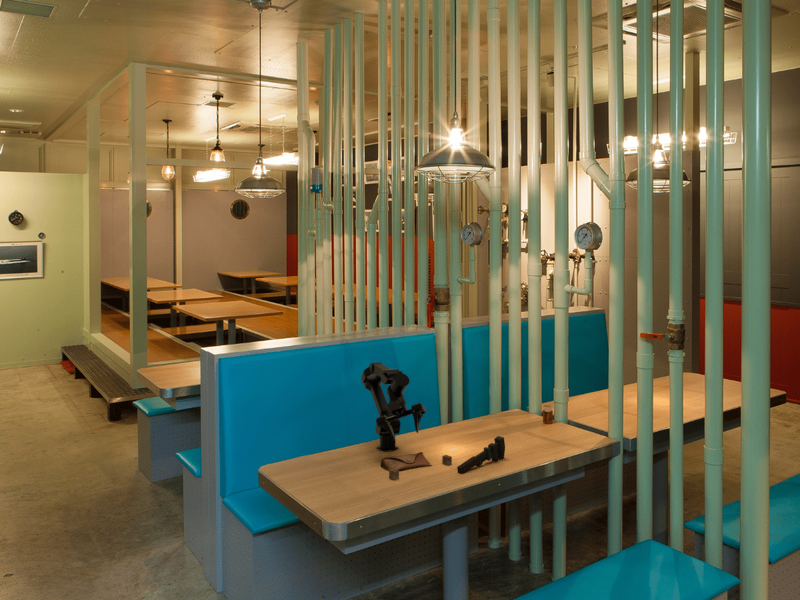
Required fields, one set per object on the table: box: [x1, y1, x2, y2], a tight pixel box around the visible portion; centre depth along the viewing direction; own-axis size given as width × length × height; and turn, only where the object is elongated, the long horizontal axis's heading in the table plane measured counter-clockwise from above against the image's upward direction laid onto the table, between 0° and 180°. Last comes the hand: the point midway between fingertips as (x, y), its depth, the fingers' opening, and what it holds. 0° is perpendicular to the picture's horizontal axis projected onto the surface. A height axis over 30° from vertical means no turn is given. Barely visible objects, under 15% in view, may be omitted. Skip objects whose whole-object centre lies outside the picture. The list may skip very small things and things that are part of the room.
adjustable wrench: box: [456, 435, 506, 475], centre depth 242 cm, size 8×3×25 cm
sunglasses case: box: [380, 451, 433, 472], centre depth 241 cm, size 18×7×7 cm, turn 119°
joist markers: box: [388, 454, 453, 481], centre depth 235 cm, size 3×27×3 cm, turn 128°
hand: (405, 436), depth 242 cm, fingers open, 9 cm apart
